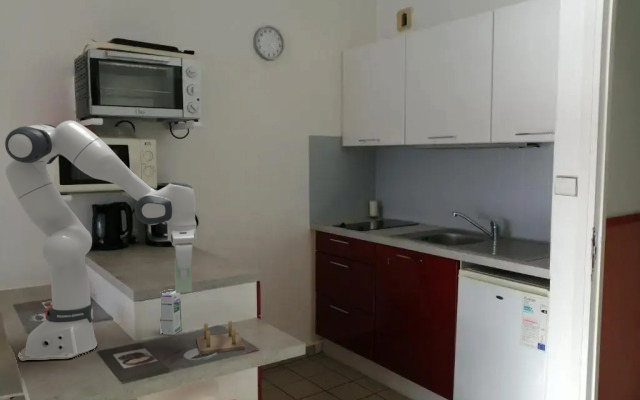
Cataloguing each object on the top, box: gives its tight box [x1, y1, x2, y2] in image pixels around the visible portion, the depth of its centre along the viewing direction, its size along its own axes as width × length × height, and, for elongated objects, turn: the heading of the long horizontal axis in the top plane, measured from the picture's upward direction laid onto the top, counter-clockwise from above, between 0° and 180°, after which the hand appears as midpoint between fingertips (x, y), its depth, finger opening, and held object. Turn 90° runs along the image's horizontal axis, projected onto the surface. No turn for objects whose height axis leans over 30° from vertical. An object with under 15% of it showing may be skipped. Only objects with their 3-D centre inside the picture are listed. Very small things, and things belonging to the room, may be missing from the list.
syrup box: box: [160, 291, 183, 336], centre depth 186 cm, size 6×6×14 cm
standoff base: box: [195, 320, 246, 355], centre depth 173 cm, size 14×14×6 cm
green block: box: [173, 257, 193, 294], centre depth 168 cm, size 5×5×10 cm
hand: (183, 277), depth 168 cm, fingers closed on green block, 5 cm apart
